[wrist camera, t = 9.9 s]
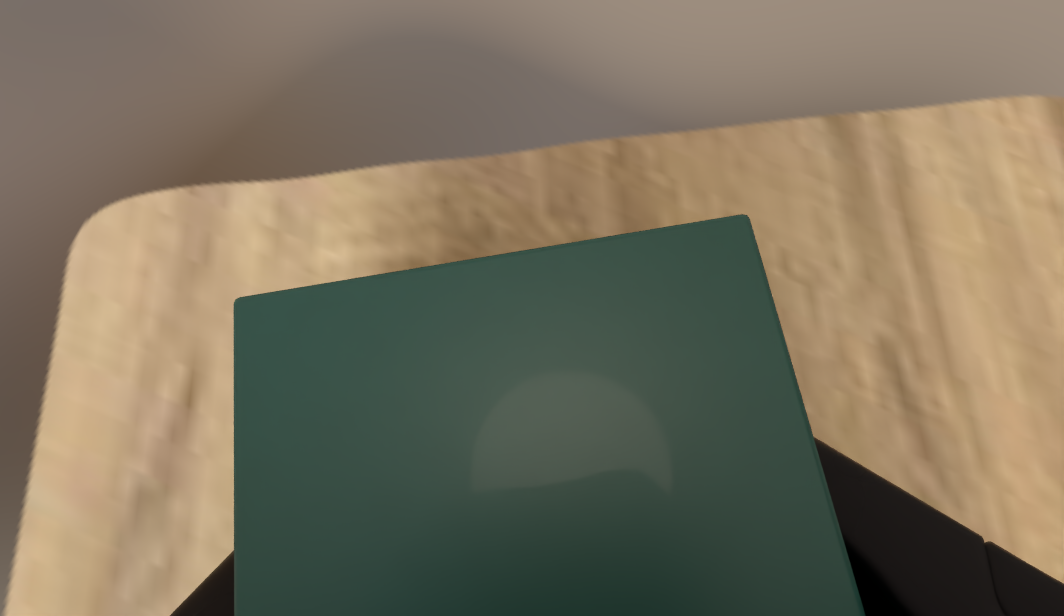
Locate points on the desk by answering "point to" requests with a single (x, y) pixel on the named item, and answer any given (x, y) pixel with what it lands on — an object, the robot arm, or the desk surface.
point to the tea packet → (533, 440)
